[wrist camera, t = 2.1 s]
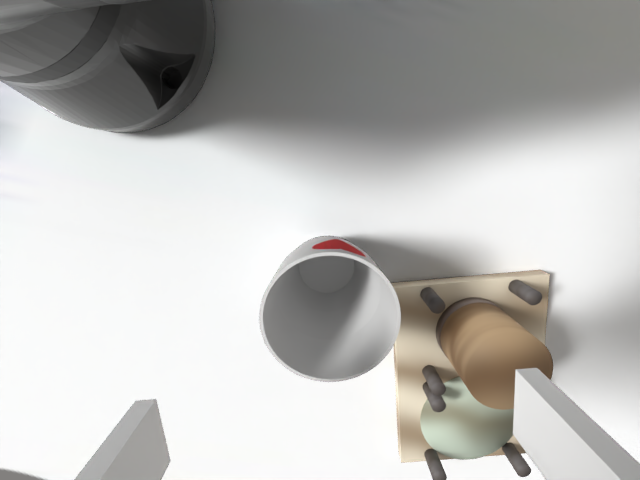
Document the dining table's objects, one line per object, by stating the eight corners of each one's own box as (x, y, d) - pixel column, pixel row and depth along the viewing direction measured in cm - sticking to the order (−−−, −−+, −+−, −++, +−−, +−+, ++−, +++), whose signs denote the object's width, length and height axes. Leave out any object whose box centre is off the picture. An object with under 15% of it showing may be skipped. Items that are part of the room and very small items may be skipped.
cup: (392, 260, 29) (430, 311, 19) (332, 326, 30) (338, 405, 20) (320, 200, 27) (320, 222, 18) (260, 272, 29) (231, 329, 19)
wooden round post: (435, 300, 28) (465, 336, 22) (507, 294, 28) (556, 328, 22) (436, 363, 30) (464, 413, 24) (504, 358, 30) (550, 406, 24)
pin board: (390, 282, 29) (401, 299, 26) (540, 269, 29) (571, 285, 25) (398, 453, 33) (408, 488, 30) (529, 442, 33) (555, 477, 29)
